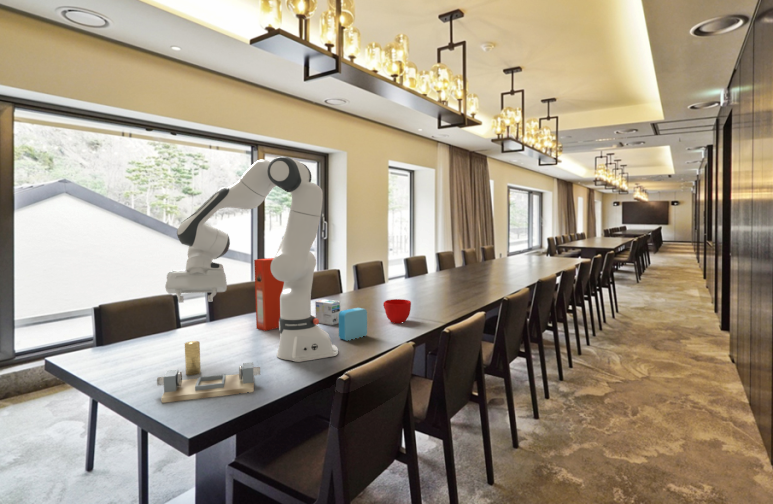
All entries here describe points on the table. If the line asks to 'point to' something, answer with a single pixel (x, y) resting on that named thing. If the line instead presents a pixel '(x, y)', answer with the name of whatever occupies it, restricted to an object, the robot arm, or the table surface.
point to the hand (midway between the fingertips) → (195, 301)
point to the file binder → (267, 295)
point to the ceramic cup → (397, 310)
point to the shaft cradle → (207, 384)
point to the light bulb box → (327, 311)
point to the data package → (352, 323)
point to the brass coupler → (192, 357)
